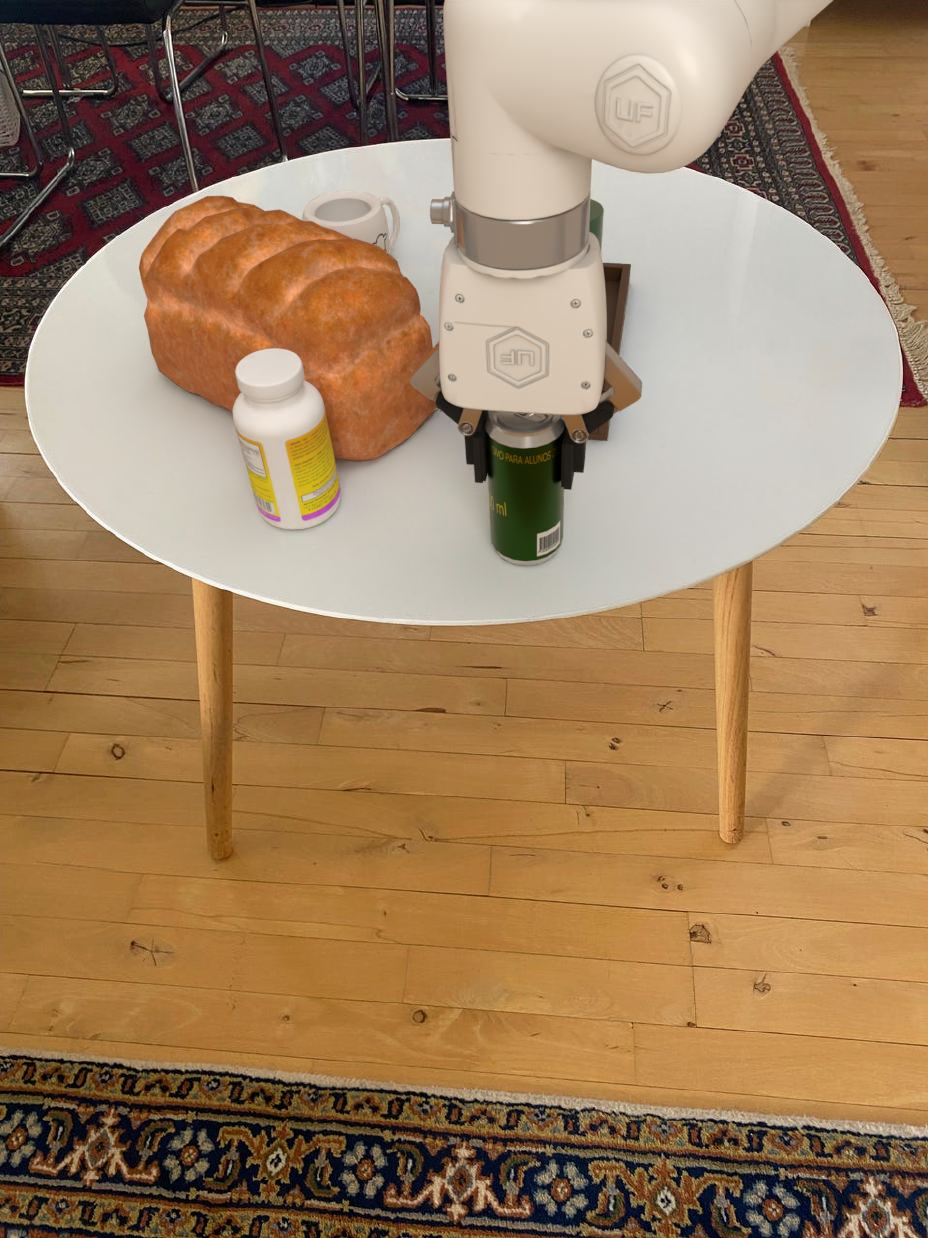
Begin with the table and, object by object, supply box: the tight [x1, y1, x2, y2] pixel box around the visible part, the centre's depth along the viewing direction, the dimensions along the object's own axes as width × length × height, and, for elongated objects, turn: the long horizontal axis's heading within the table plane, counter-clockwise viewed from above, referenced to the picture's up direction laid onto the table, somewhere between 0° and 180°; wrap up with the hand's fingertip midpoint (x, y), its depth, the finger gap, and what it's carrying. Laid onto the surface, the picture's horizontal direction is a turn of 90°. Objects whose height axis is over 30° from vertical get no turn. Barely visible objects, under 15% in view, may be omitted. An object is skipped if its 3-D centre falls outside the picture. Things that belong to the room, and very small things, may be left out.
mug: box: [301, 189, 401, 255], centre depth 100 cm, size 12×8×8 cm
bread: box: [138, 195, 438, 462], centre depth 83 cm, size 14×26×16 cm, turn 52°
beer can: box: [485, 411, 566, 566], centre depth 70 cm, size 5×5×12 cm
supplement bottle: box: [232, 348, 342, 531], centre depth 74 cm, size 7×7×13 cm
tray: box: [584, 262, 632, 441], centre depth 90 cm, size 11×26×2 cm, turn 170°
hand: (525, 471), depth 69 cm, fingers closed on beer can, 5 cm apart
